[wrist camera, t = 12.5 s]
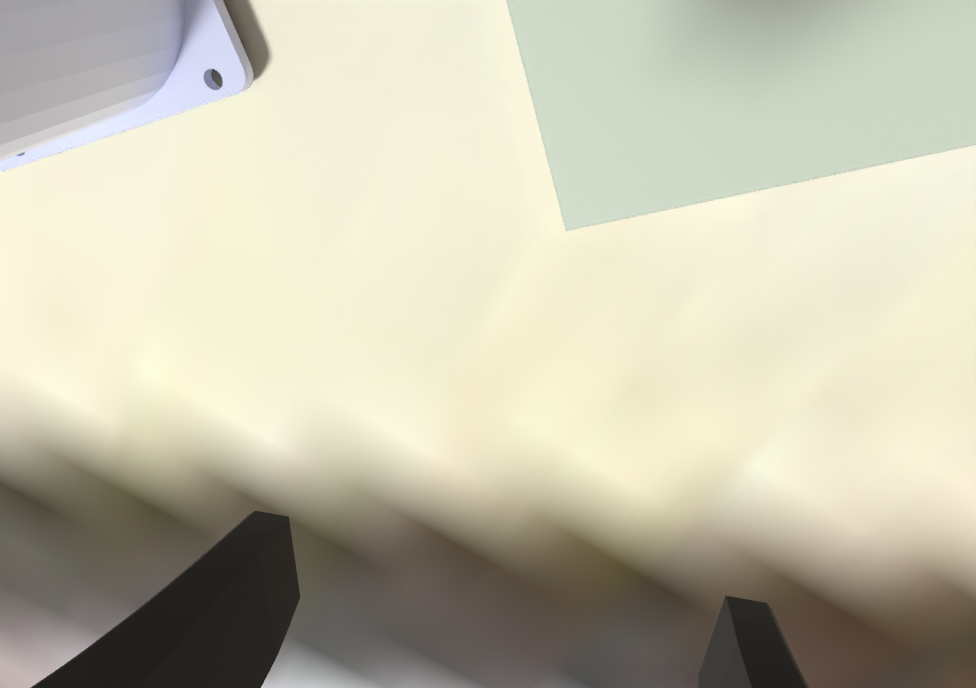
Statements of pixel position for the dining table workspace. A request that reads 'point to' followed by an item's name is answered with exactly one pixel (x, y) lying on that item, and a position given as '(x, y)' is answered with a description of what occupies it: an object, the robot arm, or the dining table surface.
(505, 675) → the dining table surface
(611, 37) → the sliding lid
